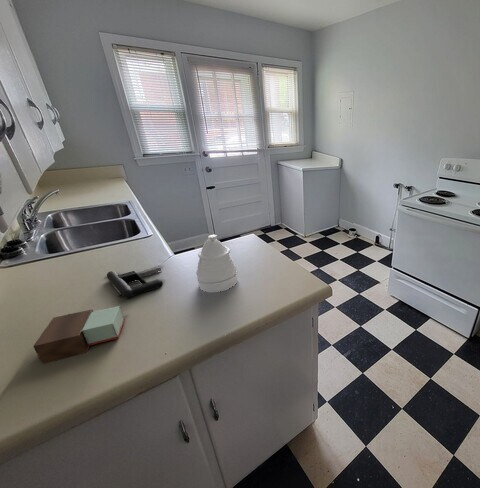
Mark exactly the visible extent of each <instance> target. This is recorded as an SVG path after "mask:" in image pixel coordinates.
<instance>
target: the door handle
mask: <svg viewBox="0 0 480 488" xmlns="http://www.w3.org/2000/svg"><path fill="white" fill-rule="evenodd" d="M158 271H161V272H162V267H160V266H159V265H158V266H155V267H152V268H148V269H144V270H141V271H137V272H136V271H135V270H132V271H128V272H125V273H120V274H118V273H117V272H116V271H114V270H113V271H112V270H111V271H110V270H109V271H108V272H107V273H106V277H105V279H108V281H109V282H110V283H111V284H112V287H113V286H114V287H113V288H114V289H115V290H116V291H117V294H119V297H121V296H122V297H123V298H125V299H131V298H133V297H134V296H137V295H140V294H143V293H145V292H146V293H147V292H149V291H152V290H154V289H157V288H161V287H163V285H164V283H163V281H162V280H161V279H154V280H150V281H146V280H145V279H143V278H144V276H145V277H148V276H151V275H154V274H153V273H155V274H157V273H156V272H158ZM158 273H159V272H158ZM150 274H151V275H150ZM147 275H148V276H147ZM135 280H138V282H139V283H141V284H139V283H136V284H135V285H133V286H130V285H129V284H130V283H129V282H131V283H133V282H132V281H134V282H136V281H135ZM127 283H128V284H127Z"/></svg>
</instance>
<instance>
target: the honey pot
mask: <svg viewBox="0 0 480 488" xmlns="http://www.w3.org/2000/svg"><path fill="white" fill-rule="evenodd" d="M230 253H231V249H230V248H229V247H228V246H225V245H223V243H222V242H221V241H220V240H219V239H218V235H217V234H209V235H208V239H206V240H205V241H204V243H203V246H202V248H201V250H200V251H199V252H198V254H197V256H198V258H199V260H198V262H197V270H196V272H195V273H196V279H197V284H198V288H199V287H200V288H199V290H201V291H202V290H203V291H202V292H205V291H206V292H205V293H219V292H220V291H221V292H224V291H228V290H229V288H230V289H231V288H233V287H235V286H236V285H237V284H238V282H239V275H238V271H237V265H236V263H235V262H234V260H233V257H232V256H231V255H230ZM237 281H238V282H237ZM236 283H237V284H236ZM235 284H236V285H235ZM232 286H233V287H232Z"/></svg>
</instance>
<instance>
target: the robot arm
mask: <svg viewBox="0 0 480 488" xmlns="http://www.w3.org/2000/svg"><path fill="white" fill-rule="evenodd" d="M0 195H2V173H1V172H0ZM3 215H4V211H3V208H2V207H1V206H0V217H1V216H3Z"/></svg>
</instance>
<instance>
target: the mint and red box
mask: <svg viewBox="0 0 480 488" xmlns="http://www.w3.org/2000/svg"><path fill="white" fill-rule="evenodd" d="M124 323H125V317H124V315H123V313H122V310H121V306H120V305H117V306H113V307H108V308H103V309H98V310H93V312H91V314H90V316H89V318H88V320H87V322H86V324H85V326H84V328H83V330H82V332H83V334H84V336H85V339H86V341H87V343H88V344H87V345H88V346H89V347H91V346H93V345H98V344H101V343H102V344H103V343H106V342H108V341H114V340H118V339H120V335H121V332H122V329H123V326H124Z"/></svg>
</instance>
